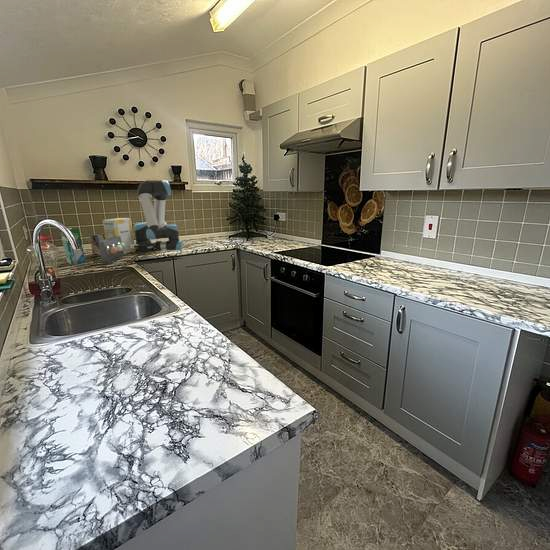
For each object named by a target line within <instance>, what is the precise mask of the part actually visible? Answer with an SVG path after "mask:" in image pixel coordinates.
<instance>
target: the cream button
mask: <svg viewBox="0 0 550 550" xmlns="http://www.w3.org/2000/svg"><path fill="white" fill-rule="evenodd" d="M116 248H117V251H122V249H123V248H122V246H121V245H116Z"/></svg>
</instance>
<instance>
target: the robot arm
mask: <svg viewBox="0 0 550 550" xmlns="http://www.w3.org/2000/svg"><path fill="white" fill-rule="evenodd" d="M136 192H137V193H136V195H137V198H138V199H139V200H140V203H141V208H142V211H143V213H144V214H143V215H144V218H145V221H144V222H143V221H142V222H138V223H135V224H134V225H133V234H134V240H135V244H132V245H130V248H135V250H136V252H138V251H142V252H149V251H148V250H150V251H153V250H154V249H155V251H157V252H161V251H164V252H166V251H167V252H169V251H182V250H183V248H184V243H183V240H180V235H179V227H178V225H177V224H168V223H167V222H166V221H165V219H166V218H165V217H166V215H165V214H166V213H165V212H166V201H167V200H168V198H169V196H171V195H172V190H171V185H170V182H169V181H168V180H165V179H160V180H159V179H157V180H155V179H153V180H151V179H147V180H144V181H141V183H140V184H139V186H138V187H137V191H136ZM152 198H153V199H154V200H153V201H152ZM153 203H154V204H153ZM160 239H164V240H160ZM166 239H168V240H166ZM151 240H156V241H155V242H152V241H151ZM152 249H153V250H152Z"/></svg>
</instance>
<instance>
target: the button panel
mask: <svg viewBox="0 0 550 550" xmlns="http://www.w3.org/2000/svg"><path fill="white" fill-rule="evenodd" d="M119 243H122V242H121V236H115V237H112V238H109V239H106V238H105V240H102V241H99V242H98V245H99V250H100V255H99V256H100V259H101V260H98V261H95V262H96V263H95V264H96V265H98V264H97V263H109V264H111V263H113V262H115V261H114V260H116V261H117V259H118V260H120V259H122V258H124V257H125V255H124V254H123V249H122V251H117V253H113V254H111V253H110V248H111V247H116V245H119ZM123 256H124V257H123ZM121 257H122V258H121ZM119 258H120V259H119ZM112 261H113V262H112ZM110 262H111V263H110Z"/></svg>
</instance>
